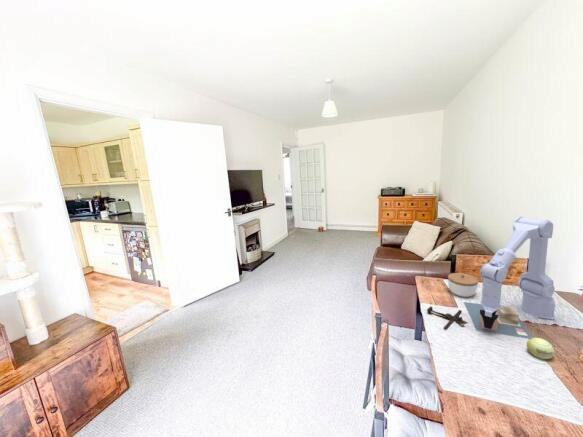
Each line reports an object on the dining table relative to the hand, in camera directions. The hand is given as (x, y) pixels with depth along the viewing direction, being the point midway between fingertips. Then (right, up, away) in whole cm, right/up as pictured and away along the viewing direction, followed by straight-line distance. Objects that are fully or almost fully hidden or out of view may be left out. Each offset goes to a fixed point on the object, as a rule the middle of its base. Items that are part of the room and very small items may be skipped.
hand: (488, 323), depth 99 cm
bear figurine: (-12, -2, +8) cm, 15 cm away
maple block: (+10, 0, +3) cm, 11 cm away
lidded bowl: (+7, +4, +26) cm, 27 cm away
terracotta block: (0, -1, 0) cm, 1 cm away
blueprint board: (+7, 0, +5) cm, 8 cm away
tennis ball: (+5, -5, -15) cm, 17 cm away
